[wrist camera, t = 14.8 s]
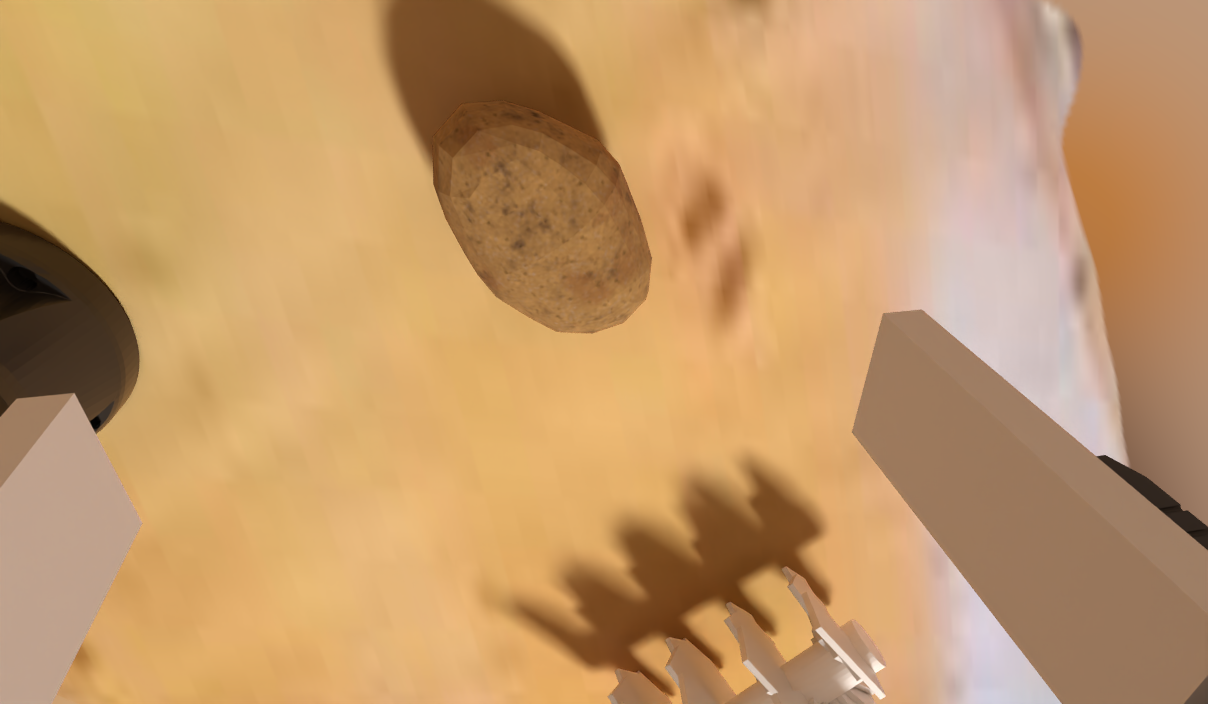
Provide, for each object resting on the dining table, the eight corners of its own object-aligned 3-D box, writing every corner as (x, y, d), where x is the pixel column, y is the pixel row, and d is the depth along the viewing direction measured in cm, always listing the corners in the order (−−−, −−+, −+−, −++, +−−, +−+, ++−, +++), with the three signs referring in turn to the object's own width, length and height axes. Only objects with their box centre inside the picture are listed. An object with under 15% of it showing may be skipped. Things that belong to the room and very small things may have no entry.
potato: (529, 31, 35) (535, 55, 28) (671, 232, 42) (704, 289, 35) (390, 147, 37) (365, 194, 31) (547, 320, 44) (556, 390, 37)
